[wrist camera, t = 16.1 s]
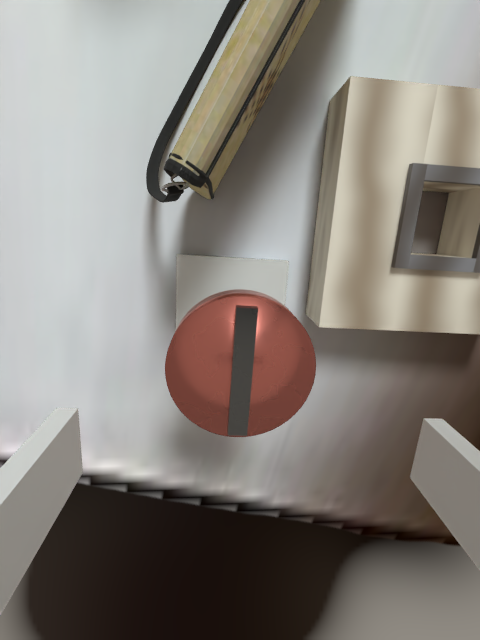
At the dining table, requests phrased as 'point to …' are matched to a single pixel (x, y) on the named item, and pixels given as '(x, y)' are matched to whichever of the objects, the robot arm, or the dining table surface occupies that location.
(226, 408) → the screw pin
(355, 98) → the block
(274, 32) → the clutch purse
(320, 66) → the dining table surface
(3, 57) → the dining table surface
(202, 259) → the rubber mat
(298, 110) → the dining table surface
